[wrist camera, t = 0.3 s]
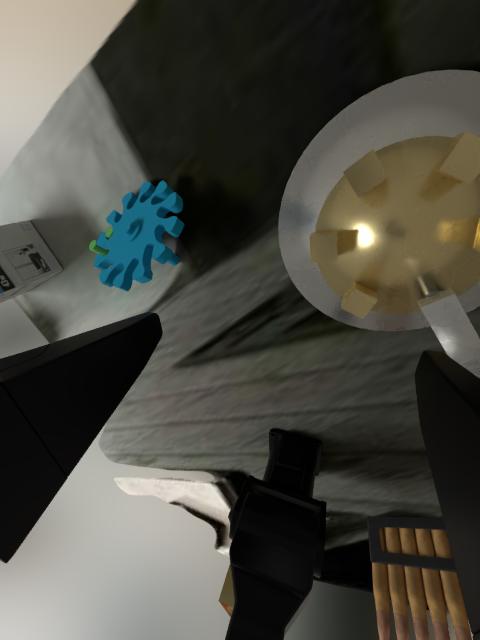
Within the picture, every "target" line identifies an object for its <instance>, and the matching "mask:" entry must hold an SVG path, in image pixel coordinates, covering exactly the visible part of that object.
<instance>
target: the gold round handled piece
mask: <svg viewBox="0 0 480 640" xmlns="http://www.w3.org/2000/svg"><path fill="white" fill-rule="evenodd" d="M343 173H344V176H343V177H342V178H341V179H340V180H339V181H338V182H337V184H336V185H335V186H334V188H333V189H332V190H331V192H330V193H329V195H328V197H327V198H326V200H325V202H324V204H323V206H322V208H321V211H320V213H319V216H318V219H317V223H316V227H315V232H313V233H311V235H310V237H309V238H310V262H317V265H318V268H319V270H320V273H321V274H322V276H323V278H324V280H325V281H326V283H327V284H328V285H329V287H330V288H331V289H332V290H333V291H334V292H335V293H336V294H337V295H339V296H340V297H341V298H343V299H342V301H341V309H343V310H345V311H347V312H349V313H351V314H353V315H355V316H357V317H359V318H361V319H364V318H365V316H366V315H367V314H368V313H369V311H372V312H377V313H384V314H406V313H414V312H419V311H422V312H423V314H424V315H425V317H426V319H427V320H428V322H429V324H430V326H431V327H432V329H433V331H434V332H435V334H436V336H437V337H438V339H439V341H440V343H441V344H442V346H443V348H444V349H445V351H446V353H447V354H448V356H449V357H451V358H452V359H453V360H455V361H456V362H457V363H459V364H460V365H462V366H463V367H464V368H466V369H467V370H469V371H470V372H471V373H473V374H474V375H476V376H477V377H478V378H480V339H479V337H478V335H477V333H476V331H475V329H474V328H473V326H472V324H471V322H470V320H469V318H468V317H467V315H466V313H465V311H464V309H463V307H462V306H461V304H460V302H459V300H458V298H457V297H458V296H459V295H461V294H463V293H464V292H466V291H467V290H468V289H470V288H471V287H473V286H474V285H475V284H476V283H477V282H479V281H480V137H478V136H476V135H473V134H471V133H468V132H462V133H459V134H457V135H456V137H455V138H453V137H447V136H424V137H416V138H411V139H407V140H403V141H399V142H396V143H393V144H391V145H388V146H386V147H383V148H381V149H379V150H377V151H374V150H373V149H372V150H371V151H370V152H368V153H367V154H366V155H364V156H363V157H362V158H360V159H359V160H358V161H357V162H355V163H354V164H353V165H351V166H350V167H349V168H347V169H346V170H345V171H344V172H343Z"/></svg>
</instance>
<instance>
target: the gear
mask: <svg viewBox="0 0 480 640" xmlns="http://www.w3.org/2000/svg"><path fill="white" fill-rule="evenodd" d="M162 201H163V202H162ZM122 203H123V205H124V209H123V214H122V215H121V214H119V213H118V212H117V211H115V210H114V211H113V212H112V213H111V214H110V215H109V216H108V218H107V222H108V223H109V224H111V225H112V227H113V228H112V227H110V228H108V229H107V231H106V233H104V232H102V233H101V234H100V236H99V238H98V240H97V241H96V240H93V241H92V242H91V243H90V245H89V249H90V250H91V251H93V252H95V253H97V254H98V255H97V256H96V257H95V262H94V267H96V268H98V269H100V270H102V272H101V273H100V275H99V276H100V281H101V283H102V284H105V285H107V286H109V287H112V286H113V285H114V286H115V287H117V288H120V289H122V290H124V291H129V290H130V288H131V285H132V280H133V279H134V280H136V281H138V282H140V283H146V282H148V281H150V280H151V279H152V276H153V273H152V271H151V265H150V264H151V258H152V257H153V259H155V260H156V261H158V262H160V263H161V264H164V263H166V262H169V263H170V264H172V265H173V266H175V265H177V264H178V263H179V260H180V258H179V257H178V256H177V255H175V254H174V253H173V252H172V250H171V249H169V248H168V247H166V246H165V245H164V244H163V241H162V234H163V233H164V231H165V230H166V231H167V232H168V233H169V234H171V235H172V236H173V237H178V236H179V235H180V233H181V232H182V229H183V227H184V223H183V222H182V221H181V220H180V219H178V218H177V217H176V216H172V217H170V218H167V219H164V217H165V215H166V214H167V213H168V212H170V211H171V212H174V213H179V212H181V211H182V209H183V199H182V198H181V197H180V196H179V195H178V194H177V193H176V192H174V191H173V189H172V188H171V187H170V186H169V185H168V184H167V183H166V182H164V181H163V180H162V181H161V182H160V183H159V184H158V186H157V188H156V187H155V186H153V185H152V184H151V183H150V182H144V183H143V184H142V186H141V188H140V193H139V196H138V197H137V196H136V195H135V194H133V193H132V192H130V193H128V194H127V195H125V196H124V197H123V200H122ZM108 251H109V253H108ZM107 253H108V254H107ZM106 254H107V255H106ZM112 264H113V265H112ZM111 265H112V267H111V268H109V269H108V267H110V266H111Z"/></svg>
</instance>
